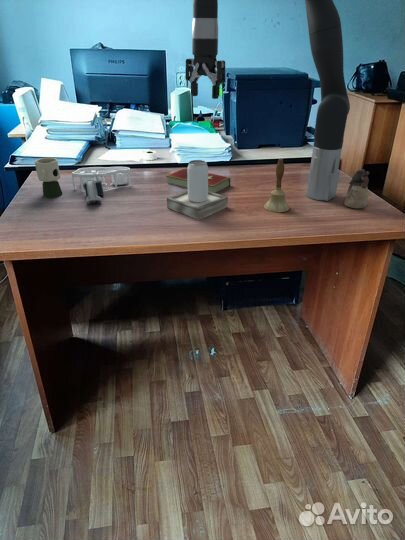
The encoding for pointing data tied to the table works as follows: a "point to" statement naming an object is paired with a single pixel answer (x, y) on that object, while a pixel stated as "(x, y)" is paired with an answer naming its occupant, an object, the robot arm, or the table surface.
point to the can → (197, 181)
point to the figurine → (357, 190)
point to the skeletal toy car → (102, 175)
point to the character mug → (49, 176)
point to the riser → (197, 204)
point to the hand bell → (278, 193)
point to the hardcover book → (214, 180)
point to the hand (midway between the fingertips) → (204, 97)
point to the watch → (93, 191)
